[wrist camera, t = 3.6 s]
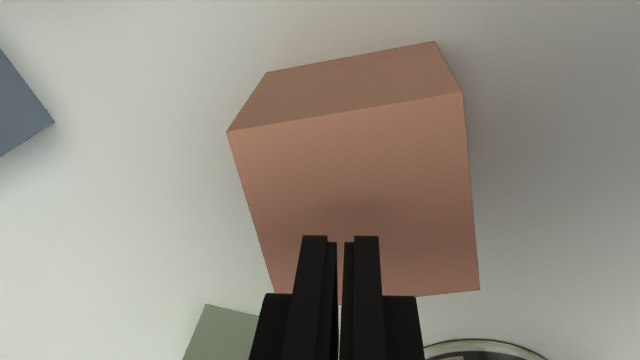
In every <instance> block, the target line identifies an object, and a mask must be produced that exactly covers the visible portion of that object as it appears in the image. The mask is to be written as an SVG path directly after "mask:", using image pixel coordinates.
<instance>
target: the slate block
mask: <svg viewBox="0 0 640 360" xmlns="http://www.w3.org/2000/svg"><path fill="white" fill-rule="evenodd" d="M54 122H55V121H54V120H53V119H52V117H51V116H50V114H49V113H48V112H47V110H46V109H45V108H44V106H43V105H42V104H41V102H40V101H39V100H38V98H37V97H36V96H35V94H34V93H33V92H32V90H31V89H30V88H29V86H28V85H27V84H26V82H25V81H24V80H23V78H22V77H21V76H20V74H19V73H18V72H17V70H16V69H15V67H14V66H13V65H12V63H11V62H10V61H9V59H8V58H7V57H6V55H5V54H4V53H3V51H2V50H1V49H0V157H1V156H3V155H4V154H6V153H7V152H9V151H10V150H12V149H14V148H15V147H17V146H18V145H20V144H21V143H23V142H24V141H26V140H28V139H29V138H31V137H32V136H34V135H35V134H37V133H38V132H40V131H42V130H43V129H45V128H46V127H48V126H49V125H51V124H52V123H54Z"/></svg>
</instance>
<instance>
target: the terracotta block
mask: <svg viewBox="0 0 640 360" xmlns="http://www.w3.org/2000/svg"><path fill="white" fill-rule="evenodd" d="M226 133H227V137H228V140H229V143H230V147H231V150H232V153H233V156H234V160H235V163H236V166H237V170H238V173H239V176H240V180H241V183H242V186H243V189H244V193H245V196H246V199H247V203H248V206H249V209H250V213H251V216H252V219H253V223H254V226H255V229H256V232H257V236H258V239H259V242H260V246H261V249H262V252H263V256H264V259H265V262H266V265H267V269H268V272H269V275H270V279H271V282H272V285H273V289H274V292H275V293H284V294H292V292H293V286H294V281H295V275H296V270H297V264H298V258H299V253H300V247H301V242H302V237H303V235H327V237H328V242H337V273H338V305H342V285H343V262H344V242H354V236H379V250H380V266H381V281H382V295H391V296H415V297H419V296H428V295H437V294H447V293H456V292H465V291H475V290H480V284H479V272H478V261H477V250H476V239H475V227H474V216H473V205H472V194H471V182H470V171H469V160H468V149H467V137H466V126H465V115H464V104H463V92H462V90H461V88H460V87H459V85H458V83H457V81H456V79H455V78H454V76H453V74H452V72H451V70H450V69H449V67H448V65H447V63H446V61H445V60H444V58H443V56H442V54H441V52H440V51H439V49H438V47H437V45H436V43H435V42H434V41H432V42H427V43H421V44H416V45H410V46H405V47H400V48H394V49H389V50H384V51H378V52H373V53H368V54H362V55H357V56H352V57H346V58H341V59H336V60H330V61H325V62H319V63H314V64H309V65H303V66H298V67H293V68H287V69H282V70H277V71H271V72H266V73H265V75H264V76H263V78H262V79H261V81H260V82H259V84H258V85H257V87H256V88H255V90H254V91H253V93H252V94H251V96H250V97H249V99H248V100H247V102H246V103H245V105H244V106H243V108H242V109H241V111H240V112H239V113H238V115H237V116H236V118H235V119H234V121H233V122H232V124H231V125H230V127H229V128H228V130H227V131H226Z"/></svg>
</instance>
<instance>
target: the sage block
mask: <svg viewBox="0 0 640 360" xmlns="http://www.w3.org/2000/svg"><path fill="white" fill-rule="evenodd" d="M258 320H259V316H255V315H251V314H246V313H242V312H238V311H234V310H230V309H226V308H221V307H217V306H213V305H209V304H206V305H205V307H204V310H203V312H202V315H201V317H200V319H199V322H198V324H197V326H196V329H195V331H194V334H193V336H192V338H191V341H190V343H189V345H188V348H187V350H186V353H185V355H184V357H183V360H248V359H249V355H250V351H251V347H252V343H253V339H254V335H255V331H256V327H257V324H258Z"/></svg>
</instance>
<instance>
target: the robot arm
mask: <svg viewBox="0 0 640 360" xmlns="http://www.w3.org/2000/svg"><path fill="white" fill-rule="evenodd" d="M338 347H339V328H338V273H337V242H328V237H327V235H303V237H302V242H301V247H300V253H299V258H298V264H297V270H296V275H295V281H294V286H293V292H292V294H284V293H267V294H266V295H265V297H264V300H263V304H262V308H261V312H260V316H259V320H258V324H257V327H256V331H255V335H254V339H253V343H252V347H251V351H250V355H249V359H248V360H338ZM339 360H425V355H424V348H423V342H422V335H421V329H420V322H419V316H418V310H417V303H416V298H415V296H391V295H382V281H381V266H380V250H379V236H354V242H344V262H343V285H342V308H341V331H340V354H339Z"/></svg>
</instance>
